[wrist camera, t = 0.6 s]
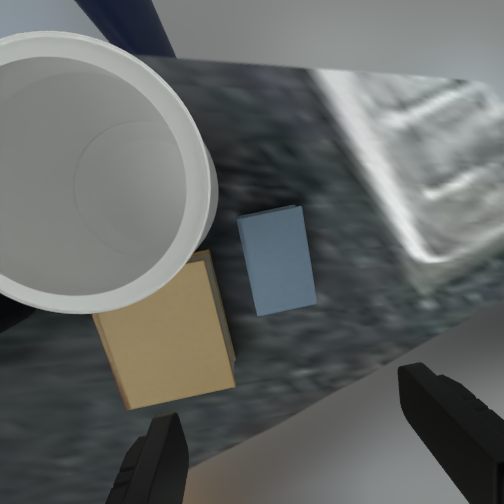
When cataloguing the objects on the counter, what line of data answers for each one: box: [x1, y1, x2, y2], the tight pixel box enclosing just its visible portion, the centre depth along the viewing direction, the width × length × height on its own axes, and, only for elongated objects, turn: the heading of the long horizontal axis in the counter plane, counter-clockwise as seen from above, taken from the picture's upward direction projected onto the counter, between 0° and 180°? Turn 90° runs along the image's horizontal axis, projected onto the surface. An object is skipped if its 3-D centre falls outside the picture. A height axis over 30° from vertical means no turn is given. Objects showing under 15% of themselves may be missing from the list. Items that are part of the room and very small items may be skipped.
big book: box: [91, 249, 236, 410], centre depth 25 cm, size 12×10×4 cm
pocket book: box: [237, 205, 317, 316], centre depth 25 cm, size 9×6×3 cm, turn 11°
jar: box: [0, 31, 218, 314], centre depth 17 cm, size 11×10×15 cm
